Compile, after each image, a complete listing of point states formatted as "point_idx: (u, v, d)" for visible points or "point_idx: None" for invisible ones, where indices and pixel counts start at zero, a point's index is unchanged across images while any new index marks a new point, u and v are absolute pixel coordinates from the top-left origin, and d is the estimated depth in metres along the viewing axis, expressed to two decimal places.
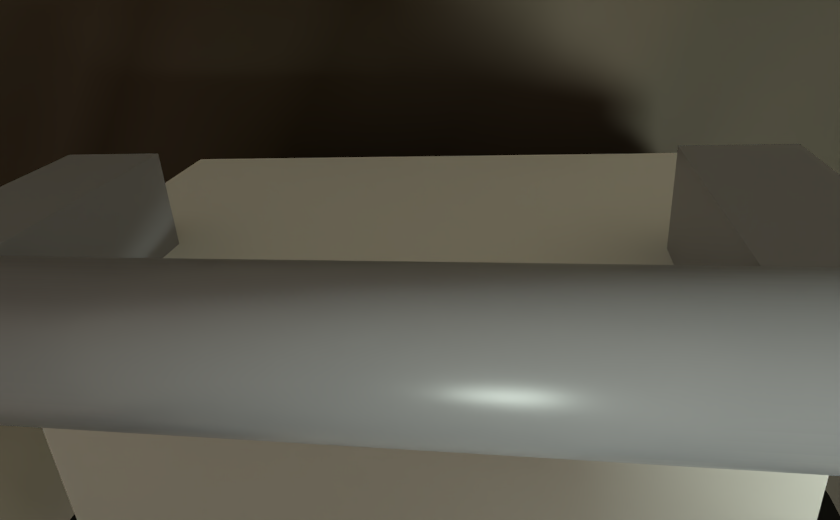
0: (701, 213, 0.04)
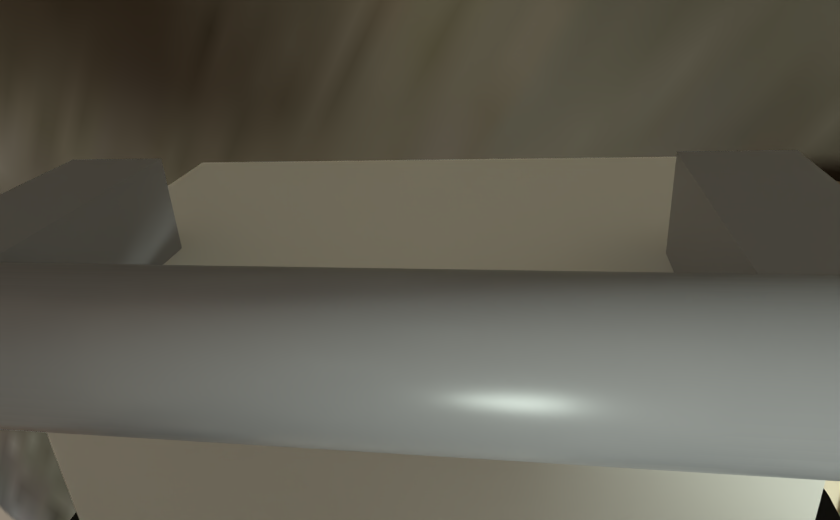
0: (698, 219, 0.04)
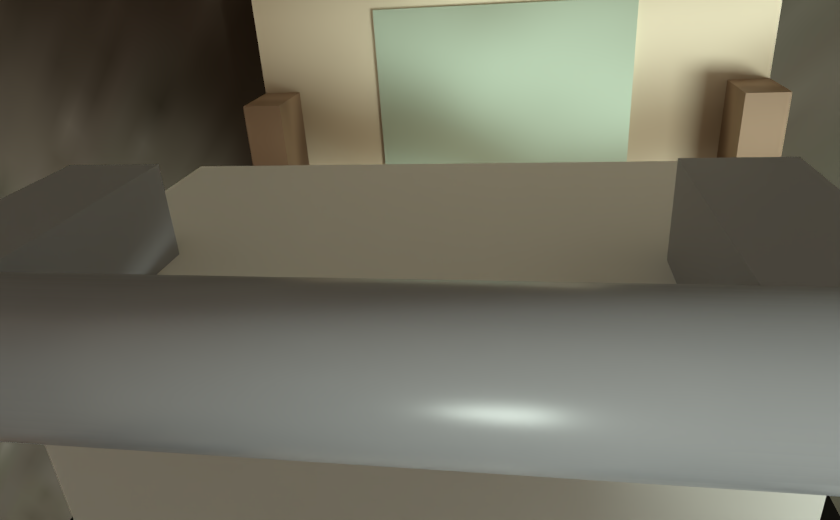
0: (701, 228, 0.04)
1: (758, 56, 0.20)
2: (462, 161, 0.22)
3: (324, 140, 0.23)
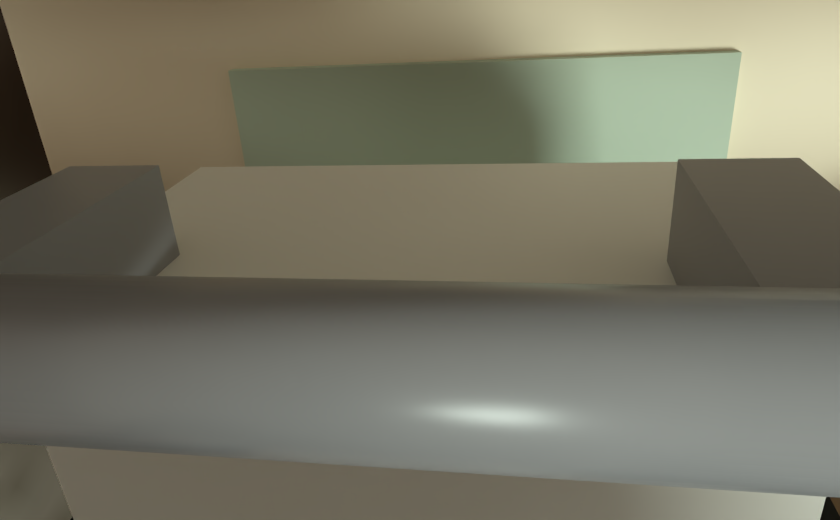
0: (701, 230, 0.04)
1: None
2: None
3: None
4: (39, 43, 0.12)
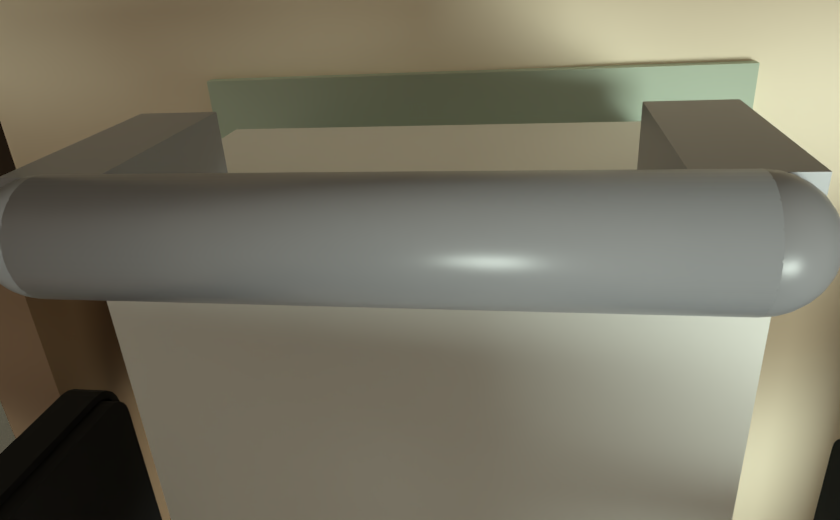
0: (657, 149, 0.05)
1: None
2: None
3: None
4: (6, 51, 0.11)
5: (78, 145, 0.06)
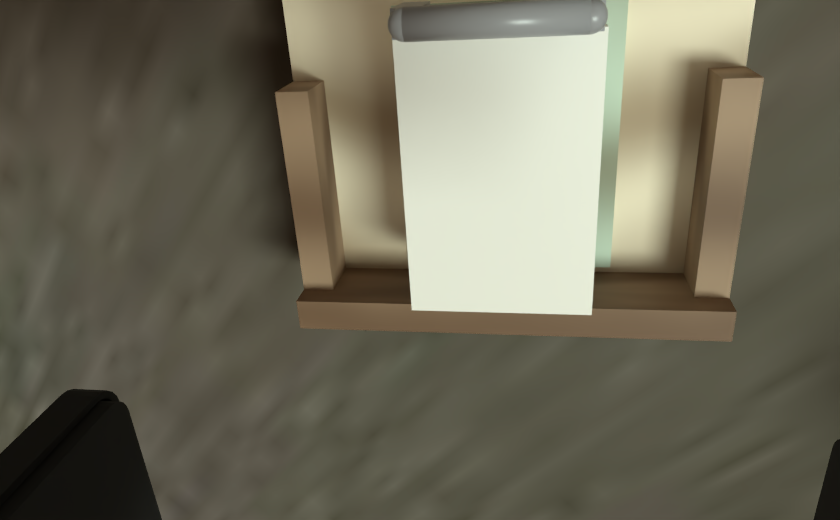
0: None
1: (735, 47, 0.22)
2: None
3: (345, 124, 0.26)
4: None
5: (398, 5, 0.18)
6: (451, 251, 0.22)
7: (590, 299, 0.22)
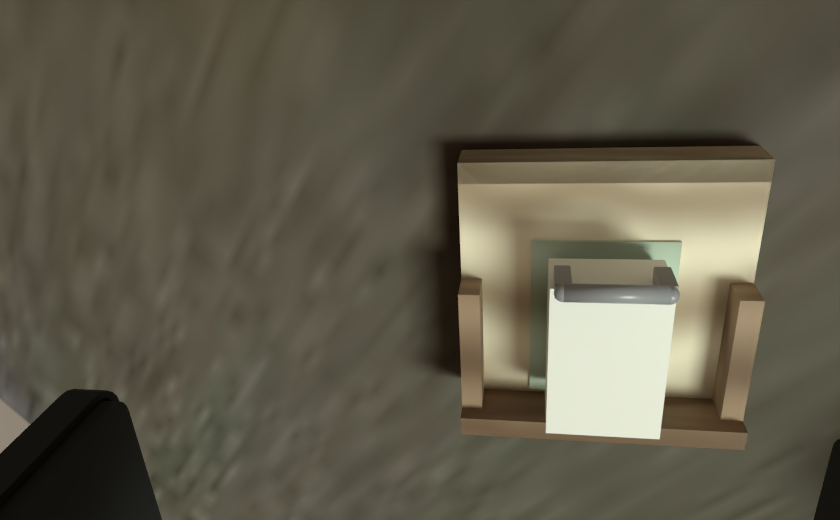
0: (656, 277, 0.32)
1: (747, 272, 0.36)
2: None
3: (493, 303, 0.39)
4: (469, 230, 0.38)
5: (556, 275, 0.32)
6: (574, 401, 0.35)
7: (659, 430, 0.35)
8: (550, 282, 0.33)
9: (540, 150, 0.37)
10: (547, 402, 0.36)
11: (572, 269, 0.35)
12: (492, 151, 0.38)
